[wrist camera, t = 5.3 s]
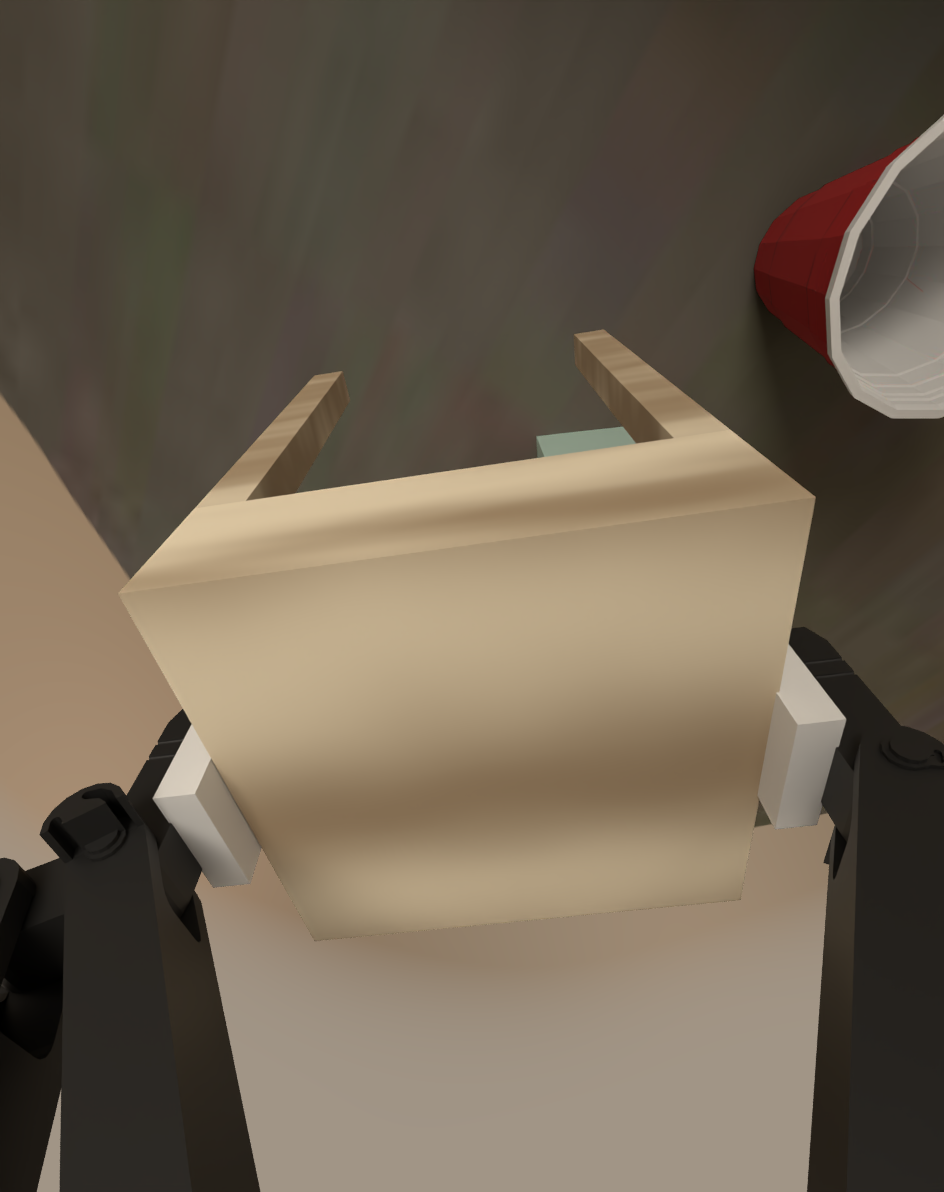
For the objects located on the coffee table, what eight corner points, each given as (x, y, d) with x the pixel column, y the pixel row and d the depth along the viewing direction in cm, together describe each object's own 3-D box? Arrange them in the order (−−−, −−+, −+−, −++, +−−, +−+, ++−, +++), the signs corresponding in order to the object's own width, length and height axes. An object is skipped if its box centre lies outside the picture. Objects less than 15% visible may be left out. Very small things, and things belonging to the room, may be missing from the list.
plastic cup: (896, 345, 34) (1087, 396, 23) (704, 380, 34) (809, 444, 24) (944, 104, 28) (1225, 33, 18) (713, 152, 29) (855, 110, 18)
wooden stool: (314, 375, 20) (117, 593, 9) (603, 329, 20) (816, 497, 8) (380, 610, 26) (314, 941, 14) (608, 580, 25) (740, 899, 13)
